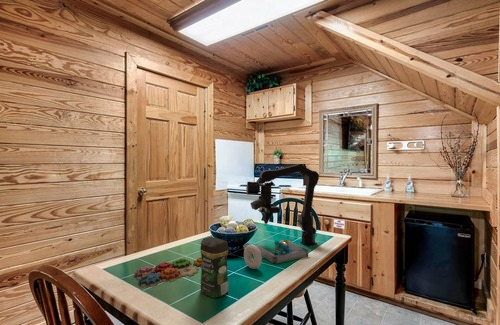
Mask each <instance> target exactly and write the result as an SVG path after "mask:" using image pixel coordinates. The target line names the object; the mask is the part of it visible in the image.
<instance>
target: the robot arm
mask: <svg viewBox="0 0 500 325" xmlns="http://www.w3.org/2000/svg"><path fill="white" fill-rule="evenodd" d="M295 173H299V174H301V175H302V176H303V177H304V183H305V190H304V199H303V204H302V210H301V211H302V212H301V214H298V215H297V220H296V222H297V225H298V227H299V228H300V229H301V231H302V232H301V240H300V243H301V244H302V245H305V246H314V245H317V244H318V243H317V242H316V240H315V239H316V233H317V232H318V231H317V228H315V227H314V226H313V218H312V208H313V202H314V195H315V193H314V192H315V188H316V186H317V184H318V183H319V179H320V175H319V173H318V172H317V171H316V170H312V169H310V168H308V167H306V166H305V165H303V164H302V163H297V164H294V165H290V166H286V167H282V168H279V169H278V168H277V169H269V170H267V169H266V170H262V171H261V172H260V174H259V178H258V179H257V180H256V181H247V183H246V188H245V189H246V195H250V196H251V195H258V194H260V195H259V196H258V198H257V199H256V200H254V201H251V202H250V207H251V209H252V210H254V211H256V210H257V211H258V212H259V213H260V214H261V215H262V218H263V222H264V224H265V225H267V224H268V223H269V221H270V219H271V217H272V216H273V214H280V213H281V208H280V207H279V206H276V205H274V203H272V199H274V195H273V196H272V187H275V186H276V184H275V183H274V182H273V181H274V180H275V179H277V178H280V177H283V176H287V175H291V174H295Z"/></svg>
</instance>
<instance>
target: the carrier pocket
mask: <svg viewBox="0 0 500 325" xmlns="http://www.w3.org/2000/svg"><path fill="white" fill-rule="evenodd" d="M290 241H291V240H289V241H286V243H287V248H290V249H291V250H290V251H293V252H289V253H285V252H284V253H281V254H279V253H278V254H279V255H278V254H276V255H275V254H273V252H270V251H269V250H267V249H265V248H263V247H262V246H260V245H259V246H257V247H258V248H259V250H260V252H261V255H262V258H265V259H266V260H268V261H269V262H270V263H273V265H275V264H281V263H285V262H289V261H293V260H297V259H302V258H307V257H309V250H308V249H307V248H305V247H303V246H301V245H298V244H296V243H295V242H292V241H291V242H290Z"/></svg>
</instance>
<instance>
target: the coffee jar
mask: <svg viewBox="0 0 500 325" xmlns="http://www.w3.org/2000/svg"><path fill="white" fill-rule="evenodd" d="M228 253H229V244H228V241H227V240H224V239H221V238H218V237H214V236H211V235H210V236H207V237H205V238H202V240H201V242H200V257H202V266H201V268H200V269H201V270H200V271H201V272H200V274H201V275H200V291H201V292H202V293H203V294H204V295H206V296H208V297H210V298H213V299H216V298H220V297H223V296H225V295H226V294H227V293H229V278H228V277H229V276H228Z"/></svg>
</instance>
